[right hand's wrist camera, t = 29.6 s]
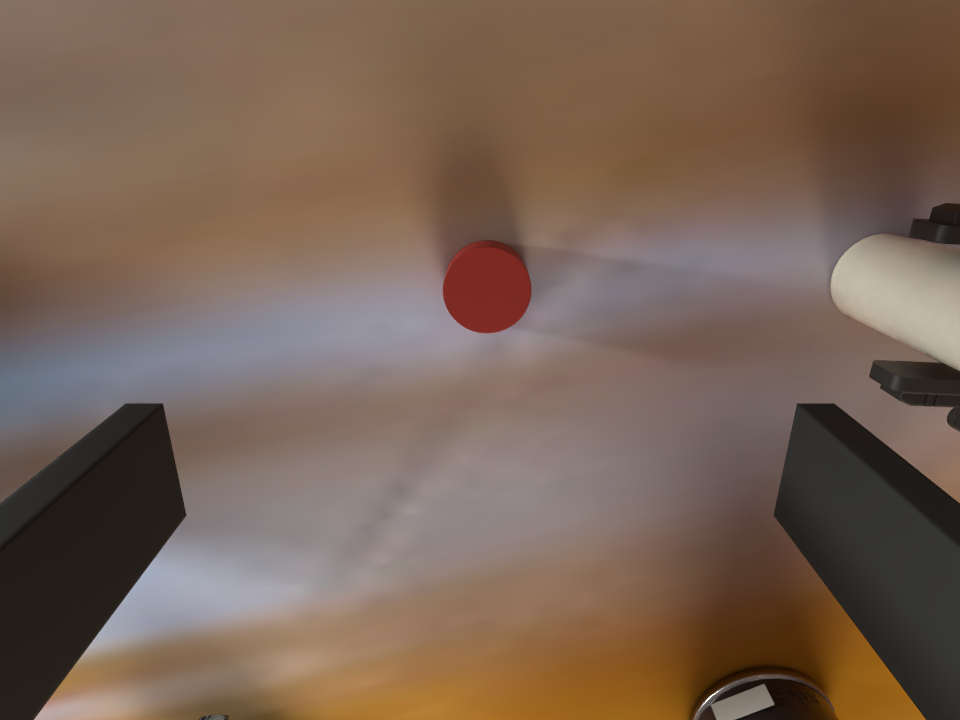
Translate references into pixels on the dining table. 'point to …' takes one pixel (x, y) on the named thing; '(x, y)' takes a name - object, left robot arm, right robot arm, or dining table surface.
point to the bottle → (903, 292)
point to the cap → (487, 287)
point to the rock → (215, 717)
